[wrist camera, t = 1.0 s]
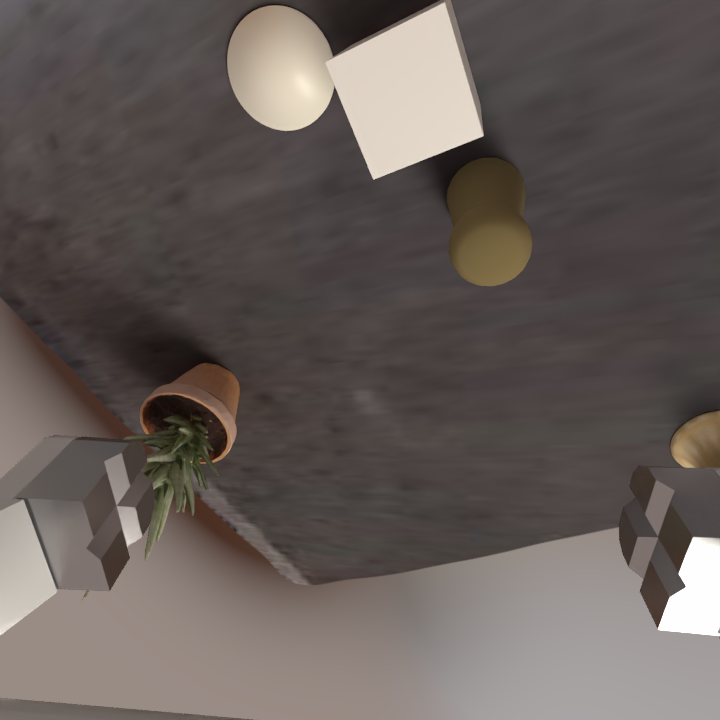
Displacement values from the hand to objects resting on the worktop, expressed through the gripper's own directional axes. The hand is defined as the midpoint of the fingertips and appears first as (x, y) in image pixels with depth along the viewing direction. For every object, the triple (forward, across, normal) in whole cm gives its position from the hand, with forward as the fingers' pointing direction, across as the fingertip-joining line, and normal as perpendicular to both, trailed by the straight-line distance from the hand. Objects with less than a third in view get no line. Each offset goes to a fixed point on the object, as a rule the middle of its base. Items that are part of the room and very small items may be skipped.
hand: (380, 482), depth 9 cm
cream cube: (+35, -1, -7) cm, 36 cm away
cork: (+36, -7, +1) cm, 37 cm away
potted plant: (+42, +20, +23) cm, 52 cm away
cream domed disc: (+36, +9, -7) cm, 38 cm away
